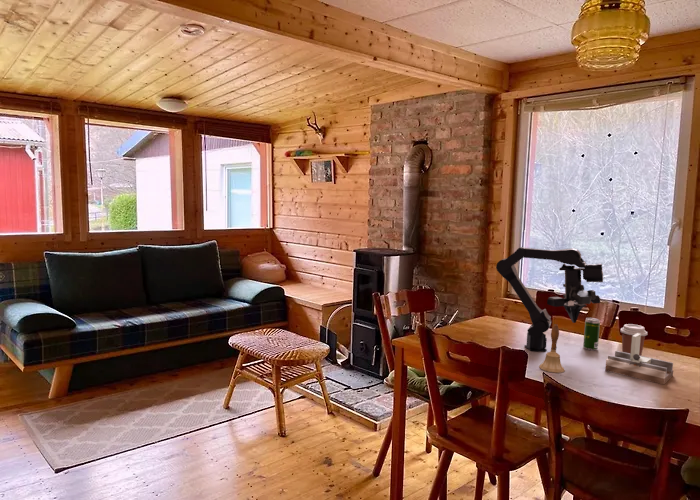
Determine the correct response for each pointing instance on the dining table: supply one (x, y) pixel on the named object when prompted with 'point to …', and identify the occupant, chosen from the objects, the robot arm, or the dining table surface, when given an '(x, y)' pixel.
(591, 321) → the beer can
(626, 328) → the coffee cup
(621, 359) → the stand
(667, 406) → the dining table surface
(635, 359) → the carriage
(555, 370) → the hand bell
